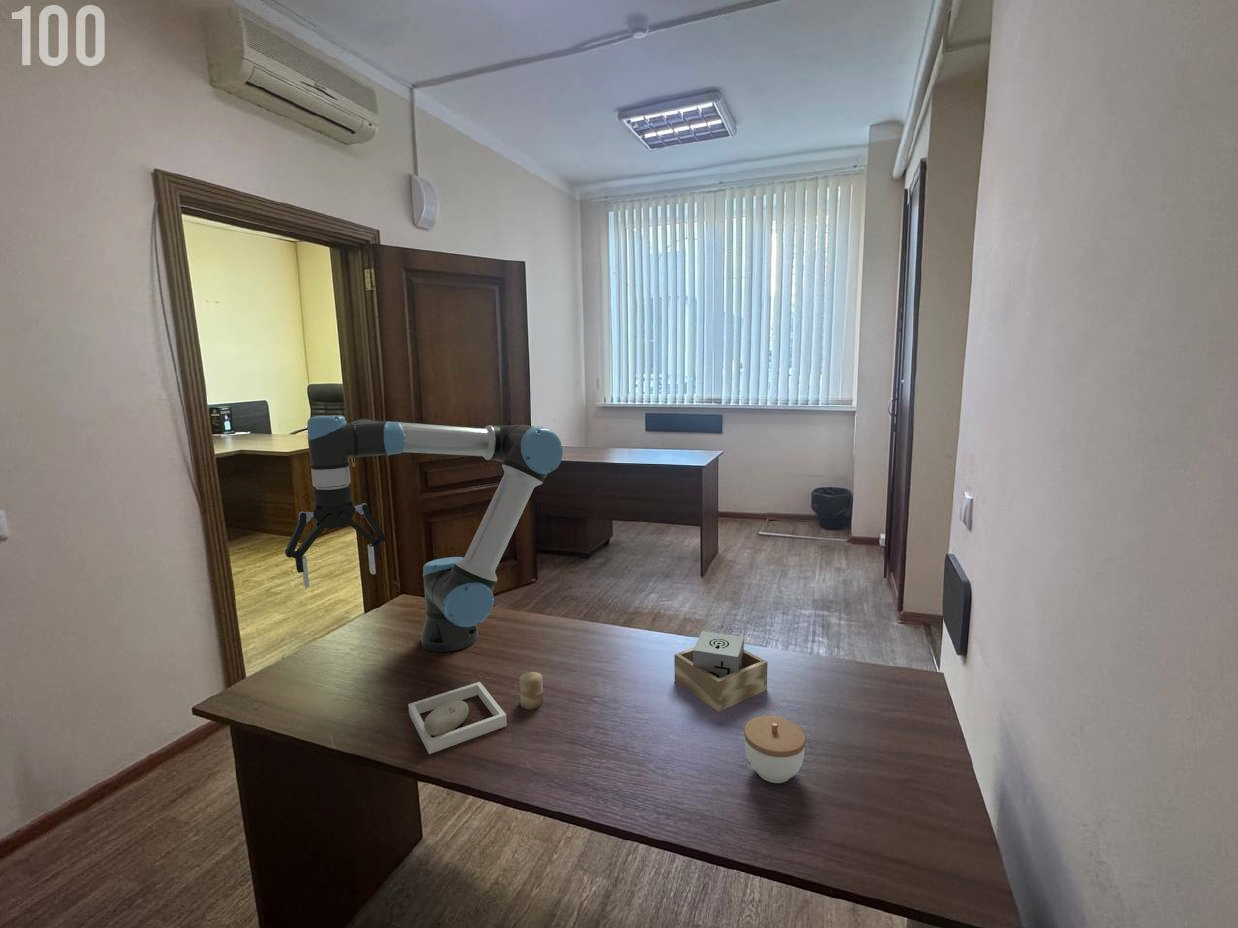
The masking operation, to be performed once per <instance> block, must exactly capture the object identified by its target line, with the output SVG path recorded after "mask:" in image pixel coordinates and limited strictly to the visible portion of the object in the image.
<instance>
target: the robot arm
mask: <svg viewBox="0 0 1238 928" xmlns="http://www.w3.org/2000/svg"><path fill="white" fill-rule="evenodd" d="M306 423H307V425H306V426H307V444H308V452H309V462H310V469H311V471H310V472H311V482H312V486H313V487H314V489H313V490H312V493H313V502H314V503H313V504H314V510H313V511H303V510H299V512H298V519H297V520H298V522H297V524H296V525H295V527H294V530H293V532H292V535H291V536H290V539H289V542H288V544H287V546H286V549H285V551H284V554H285V556H286V558H288V559H289V558H292V559H295V567H296V571H297V572H298V574H301V573H302V579H303V580H302V581H303V586H304V587H305V589H306V588H310V579H309V570H308V559H307V557H306V555H305V554H306V553H307V551H308V550H309V549H310V548H311V546H312V545H313V544H314V542H315V541H316V539H318V537H319V536H320V535H321V533H323V531H324V530H325V529H327V530H334V529H336V528H338V529H340V528H341V529H342V528H345V527H346V526H347V525H349V526H350V527H351V528H353V529H354V530H355V531H356V532H357V533H359V534H360V535H361V536H362V537H363V538H364V539H366V540H367V541H368V542H369V544H368V543H367V554H368V556H367V557H368V569H369V572H370V574H371V575H376V574H377V572H376V571H377V570H376V560H375V559H379V558H380V551H379V550H380V549H379V546H380V544H381V543H384V542H386V541H387V537H386V536H385V534H384V532H383V531H382V529H381V528H380V526H379V525H378V524H377V522H376V521H375V519H374V518H373V516H372V515H371V512H370V508H369V505H368V504H367V503H364V502H362V503H360V504H358V505H354V503H353V493H352V487H351V486H350V484H351V481H352V480H351V472H350V462H349V461H350V460H349V459H351V458H360V457H363V458H364V457H375V456H376V457H378V456H392V455H398V454H402V453H411V454H412V453H414V454H419V453H420V454H435V455H454V456H455V455H456V456H470V457H471V456H472V457H473V456H474V457H483V458H484V459H485V460H486V461H497V462H502V464H501V467H502V469H503V471H504V472H503V476H502V477H501V479H500V482H499V485H498V487H497V488H496V490H495V492H494V494H493V497H492V499H491V501H490V503H489V505H488V507H487V509H486V511H485V514H484V515H483V518H482V520H481V521H480V524H479V526H478V528H477V530H476V532H475V535H474V536H473V539H472V541H471V542H470V545H469V546H468V549H467V551H466V553H465V555H464V557H463V556H450V557H443V558H437V559H433V560H431V561H428V562H426V563H425V564H424V565H423V567H422V568H423V569H422V571H423V573H422V577H423V589H424V603H425V604H424V605H425V614H426V615H425V619H424V624H423V628H422V631H421V635H420V640H421V641H420V642H421V647H422V648H424V650H426V651H429V652H433V653H434V652H435V653H448V652H449V653H451V652H454V651H460V650H462V649H465V648H467V647H469V646H471V645H473V644H474V643H475V642H477V640H478V638H479V629H478V626H477V625H478V624H480V623H482V622H484V621H485V620H486V619H487V618H489V615H490V614H491V612H492V610H493V607H494V604H495V598H494V594H493V591H494V589H495V586H496V584H497V581H498V577H497V574H496V571H497V567H498V566H499V563H500V561H501V559H502V557H503V555H504V552H505V551H506V549H507V547H508V545H509V542H510V540H511V538H512V536H513V533H514V532H515V529H516V527H517V525H518V523H519V520H520V518H521V517H522V515H523V513H524V510H525V508H526V506H527V504H528V502H529V500H530V499H531V498H530V497H531V495H532V494H533V491H534V488H536V487H538V486H540V485H543V484H544V481H545V479H546V477H547V476H548V474H550V473H551V472H553V471H555V470H556V469H557V468H559V466H560V465H561V463H562V460H563V455H564V447H563V445H562V442H561V439H560V437H559V436H558V435H557V434H556V433H555V432H554V431H552V429H551V430H550V429H548V428H545V427H543V426H538V425H536V426H533V425H527V424H513V425H511V424H509V425H490V424H489V425H486V426H485V427H484V428H481V427H469V426H467V427H465V426H455V425H452V426H451V425H442V424H441V425H438V424H427V423H426V424H425V423H414V422H403V421H401V422H399V421H384V420H376V419H375V420H374V419H369V418H360V419H358V420H355V421H353V422H352V423H347V421H346V418H345V416H344V415H318V416H317V415H315V416H312V417H310V418H309V419H308V420H307V422H306ZM356 512H358V513H359V514H360V515H362V517H364V519H365V520H366V522H367V523H368V525H369V526H370V528H371V529H372V531H373V532H374V533H375V535H376V537H374V536H372V534H370V533H369V532H368V531H366V530H365V529H364V528H363V527H362V526H361V525H360V524H358V523H357V522H356V521H355V520H354V519H352V518H353V517H354V515H355V514H356ZM312 518H313V519H315V521H317V522H316V523H315V525H314V527H313V528H312V529H311V531H310V532H309V534H308V535H307V536H306V538H305V539H304V540H303V541H302V543H301V544H300V545H299V547H298V548H297V546H298V544H299V542H300V539H301V537H302V535H303V532H304V531H305V528H306V525H307V523H308V522H310V521H311V519H312ZM296 548H297V549H296Z"/></svg>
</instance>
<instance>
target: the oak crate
mask: <svg viewBox="0 0 1238 928" xmlns="http://www.w3.org/2000/svg"><path fill="white" fill-rule="evenodd" d="M693 649H694V647H692V648H688V649H685V650H683V651H679V652H677V653H674V656H673V657H674V660H673V661H674V682H675V683H677V684H678V685H679V686H681V687H682V688H683V689H684V690H686V691H688V692H689V693H690V694H692V695H693V696H695V697H696V698H697V699H699V700H700V701H702V703H703V702H704V703H705V704H706V705H707V706H709V707H710V708H711V709H713V710H715V711H716V712H717V713H719V712H722V711H724V710H726V709H729V708H730V707H732V706H735V705H737V704H738V703H742V702H744V701H746V700H749V698H752V697H755V696H756V695H759V694H761V693H763V692H766V691H767V690H768V663H769V662H768V661H767V660H764V659H763V658H761V657H759V656H758V655H755V654H754V653H751V652H750V651H748V650H745V649H744V666H743V669H741V670H739V671H738V673H737V672H734V673H731V674H729V675H726V676H724V677H721V678H717V677H715V676H714V675H712V674H711V673H709V672H707V671H706V670H704V669H703V668H701V667H698V666H693Z"/></svg>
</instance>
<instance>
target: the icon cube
mask: <svg viewBox="0 0 1238 928" xmlns="http://www.w3.org/2000/svg"><path fill="white" fill-rule="evenodd" d="M693 648H694V649H693V666H698V667H701V668H703V669H704V670H706V671H707V672H709V673H711V674H712V675H714V676H715V677H717V678H721V677H724V676H726V675H729V674H731V673H734V672H737V673H738V671H739V670H741V669H743V666H744V650H745V636H740V635H739V636H738V635H734V634H733V635H732V634H724V633H718V632H710V631H704V630H703V631H701V632H700V635H699V637H698V639H697V641H696V643H695V645H694V647H693Z"/></svg>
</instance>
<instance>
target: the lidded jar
mask: <svg viewBox="0 0 1238 928" xmlns="http://www.w3.org/2000/svg"><path fill="white" fill-rule="evenodd" d="M743 736H744V748H745V754H746V757H747V760H748V762H749V764H750V766H751V767H752V769H753V770H754V771H755V773H757V774H758V776H759V777H760V778H761V779H763V780H764V781H766V782H769V783H773V784H783V783H786V782H788V781H789V780H790V779H792V778H793V777H794V776H795V775H797V774H798V772H799V771H800V769H801V767H802V764H803V762H804V758H805V750H806V749H805V748H806V747H805V746H806V740H807V739H806V734H805V732H804V731H803V729H802V728H801V726H799V725H798V724H797V723H795V722H794V721H792V720H790V719H787V718H784V717H780V716H775V715H762V716H761V715H760V716H757V717H754V718H752V719H750V720H749V721H748V722H746V724H745V725H744V729H743Z"/></svg>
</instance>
